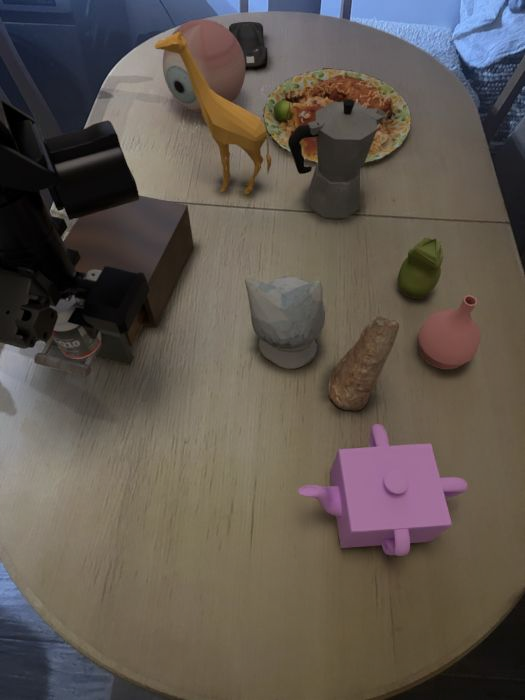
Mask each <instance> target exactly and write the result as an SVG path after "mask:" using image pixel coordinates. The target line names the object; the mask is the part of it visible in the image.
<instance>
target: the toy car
mask: <svg viewBox="0 0 525 700" xmlns="http://www.w3.org/2000/svg"><path fill="white" fill-rule="evenodd" d="M228 30H229V31H230V32H231V33H232V34H233V35H234V36H235V38H236V39H237V41H238V42H239V44H240V46H241V49H242V51H243V54H244V59H245V72H246V71H249V70H254V71H260V70H263V69H266V68H267V66H268V48H267V47H266V46H265V40H264V26H263V24H262V23H260V22H257V21H239V22H234V23H231V24H229V26H228Z"/></svg>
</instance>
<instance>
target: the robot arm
mask: <svg viewBox="0 0 525 700" xmlns="http://www.w3.org/2000/svg"><path fill="white" fill-rule="evenodd" d="M120 143H121V142H120V140H119V135H118V133H117V132H116V130H115V127H114V125H113V124H112V122H111V120H103V121H100V122H96V123H93V124H91V125H89V126H88V127H85V128H82V129H78V130H75V131H70V132H66V133H62V134H59V135H56V136H50V137H48V138H44V135H43V133H42V131H41V127H40V125H39V122H38V121H37V119H35V118H34V117H32V116H30V115H29V114H28V113H26V112H24V111H23V110H21V109H19V108H18V107H16V106H14V105H13V104H11V103H10V102H9V101H7V100H5V99H4V98H2V97H0V343H1V344H5V345H9V346H12V347H16V348H18V349H24V350H25V349H29V348H31V349H32V348H34V347H35V345H36V344H37V343H38V342H43V343H45V342H46V341H48V340H49V339H50V338H51V335H52V332H53V330H54V327H55V324H56V321H57V319H58V313H57V311H56V310H54V309H53V308H51V307H49V306H50V305H51V306H56V305H57V303H58V302H59V300H62V301H66V302H68V301H70V299H71V298H72V296H73V295H74V296H75V297H74V299H75V301H76V302H79V303H77V305H76V308H75V310H74V311H73V313H72V315H71V316H70V318H69V320H68V321H67V322H68V323H72V324H76V325H80V326H83V328H84V330H85V331H86V333H87V334H88V335H89V336H90V337H91V338H92V339H95V338H96V336H97V335H98V333H99V329H102V330H106V331H109V332H113V333H117V334H123V333H125V332H128V331H129V329H130V327H131V325H132V324H133V322H134V320H135V318H136V316H137V314H138V312H139V310H140V308H141V306H142V304H143V302H144V300H145V298H146V297H147V295H148V293H149V291H150V290H149V286H148V283H147V279H146V277H145V275H144V273H142V272H138V271H133V270H129V269H125V268H121V267H117V266H112V265H109V266H105V267H104V269H103V270H102V271H100V270H96V269H93V270H90V271H88V272H86V273H84V272H80V271H76V270H75V267H76V265H77V263H78V262H79V260H80V259H81V257H80V255H79V252H78V251H76V250H72V249H68V248H66V246H65V244H64V242H63V241H64V239H63V238H62V236H63V235H64V233H65V232H66V231H67V229H68V225H67V222H66V220H65V218H61V217H57V216H53V215H52V214H51V211H50V209H49V207H48V205H47V203H46V200H45V198H44V196H43V193H42V192H41V191H43V190H46V189H47V190H48V192H49V194H50V195H49V196H50V197H51V199H52V202H53V204H54V206H55V209H56V211H57V212H60V211H63V210H64V211H65V214H66V217H67V218H68V220H69V221H72V220H74V219H75V220H78V218H80V217H84V216H87V215H90V214H94V213H97V212H100V211H104V210H107V209H110V208H114V207H117V206H120V205H124V204H127V203H130V202H134V201H137V200H139V195H140V194H139V190H138V186H137V182H136V180H135V177H134V175H133V173H132V171H131V169H130V167H129V165H128V163H127V159H126V157H125V155H124V152H123V149H122V147H121V144H120Z"/></svg>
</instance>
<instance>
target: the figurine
mask: <svg viewBox="0 0 525 700" xmlns="http://www.w3.org/2000/svg"><path fill="white" fill-rule="evenodd" d="M244 283H245V289H246V293H247V299H248V305H249V312H250V320H251V325H252V329H253V332H254V333H255V335H256V336H257V337H258V338H259V342H258V347H259V348H258V349H259V350H260V352H261V354H262V356H263V357H264V359H266V360H267V361H270V363H273V364H274V365H275V366H277V367H279V368H281V369H286V370H287V369H288V370H296V369H299V368H301V367H304V366H306V365H309V364H310V363H312V361H313V360H314V359H315V357H316V354H317V351H318V344H317V341H316V339H317V338H318V337H319V335H320V334H321V332H322V331H323V329H324V327H325V323H326V305H325V302H324V299H323V297H324V295H323V294H324V293H323V291H324V290H323V282H322V280H321V279H318V280H316V281H313V282H310V281H308V280H305V279H304V278H301V277H299V276H298V277H297V276H292V275H288V276H287V275H286V276H279V277H276V278H274V279H273V280H271V281H269V282H268V283H265V282H261V281H259V280H256V279H253V278H251V277H246V278H245V279H244Z"/></svg>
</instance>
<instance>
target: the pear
mask: <svg viewBox="0 0 525 700" xmlns="http://www.w3.org/2000/svg"><path fill="white" fill-rule="evenodd" d="M443 259H444V252H443V248H442V243H441V242H440V241H439V240H437V238H433V239H432V238H431V237H424V238H423V239H422V240H421V241H420V242H418V243H416V244H415V245H414V246H413V248H411V249H410V250H408V252H407V257H406V258H405V259H404V260H403V262H402V263H401V266H400V268H399V271H398V274H397V285H398V289H399V290H400V292H401V293H403V295H405V296H407V297H409V298H411V299H421V298H425V297H426V296H428V295H429V294H431V292H432V291H433V290H434V289H435V288H436V287H437V285H438V283H439V281H440V278H441V272H442V270H441V266H442V263H443Z"/></svg>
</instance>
